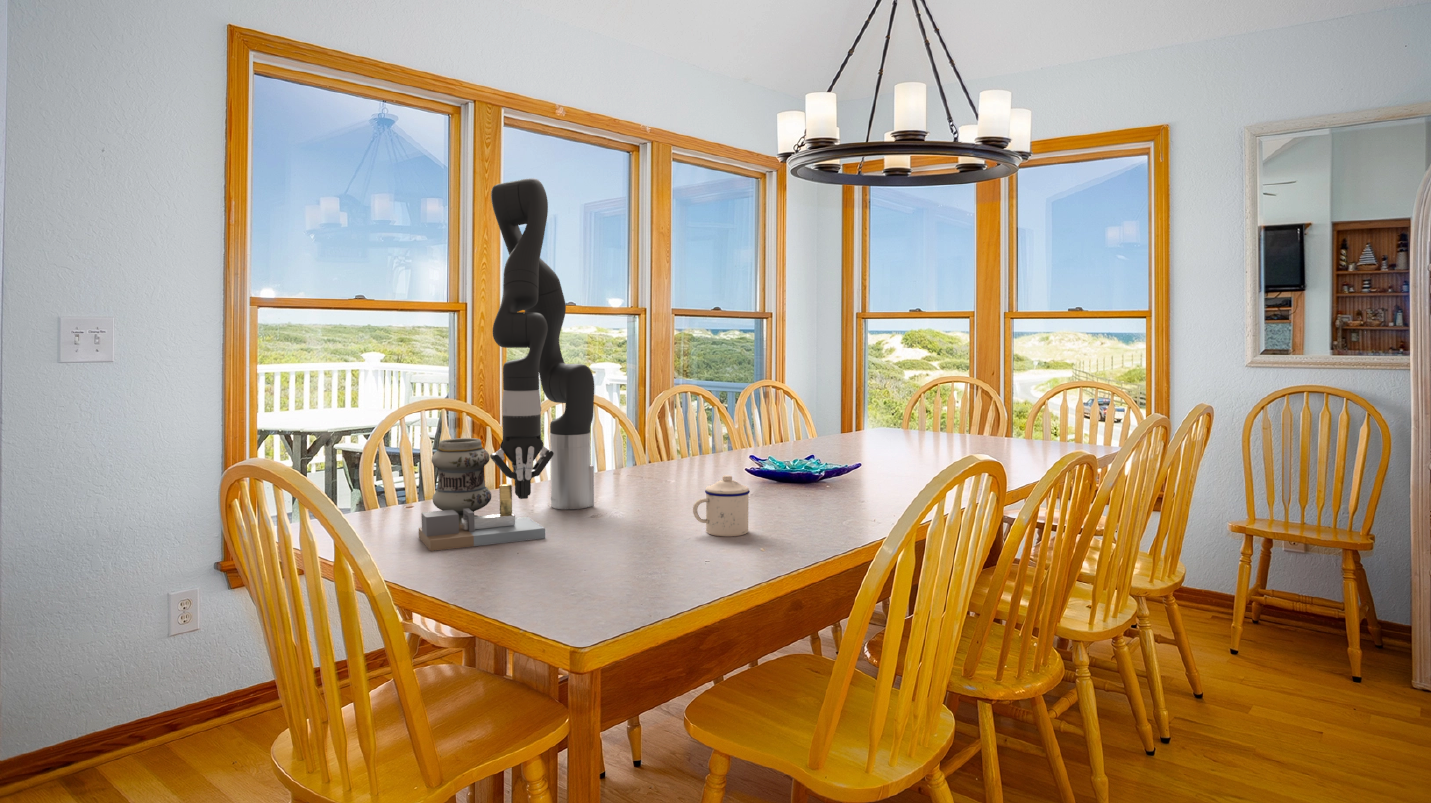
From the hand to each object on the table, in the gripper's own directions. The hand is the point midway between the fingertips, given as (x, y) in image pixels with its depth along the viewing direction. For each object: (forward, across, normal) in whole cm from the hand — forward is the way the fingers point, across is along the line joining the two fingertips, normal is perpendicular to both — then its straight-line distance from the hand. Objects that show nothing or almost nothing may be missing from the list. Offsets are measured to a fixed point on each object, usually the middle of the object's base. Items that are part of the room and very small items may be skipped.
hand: (522, 498), depth 180 cm
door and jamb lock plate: (+7, +8, 0) cm, 11 cm away
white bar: (+5, +7, 0) cm, 9 cm away
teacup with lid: (+8, -36, +18) cm, 41 cm away
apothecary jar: (+8, +9, -15) cm, 19 cm away
